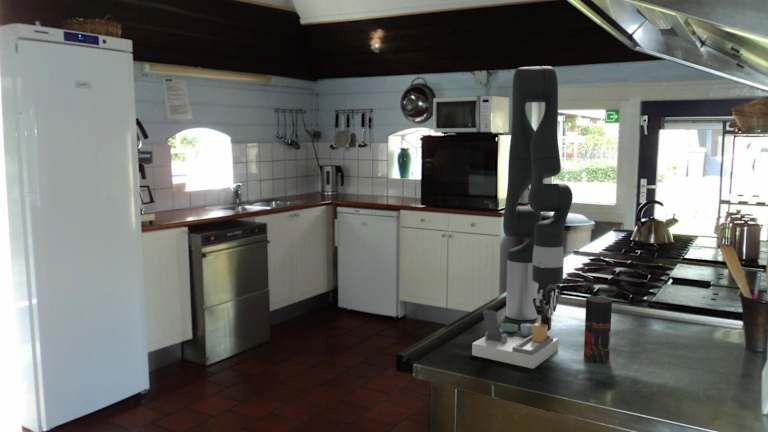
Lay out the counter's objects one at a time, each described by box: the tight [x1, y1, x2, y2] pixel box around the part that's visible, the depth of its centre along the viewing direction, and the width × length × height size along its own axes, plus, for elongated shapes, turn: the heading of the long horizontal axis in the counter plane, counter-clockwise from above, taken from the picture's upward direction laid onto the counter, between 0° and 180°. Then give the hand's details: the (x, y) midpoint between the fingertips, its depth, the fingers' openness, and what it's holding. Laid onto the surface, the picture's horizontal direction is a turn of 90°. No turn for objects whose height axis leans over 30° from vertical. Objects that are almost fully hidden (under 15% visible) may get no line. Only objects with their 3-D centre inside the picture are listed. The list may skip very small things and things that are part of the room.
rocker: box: [500, 322, 519, 332], centre depth 166 cm, size 4×3×2 cm
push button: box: [519, 322, 533, 336], centre depth 164 cm, size 3×3×2 cm
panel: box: [471, 327, 559, 370], centre depth 160 cm, size 16×16×5 cm
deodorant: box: [583, 295, 613, 365], centre depth 154 cm, size 6×6×15 cm
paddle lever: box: [482, 308, 501, 342], centre depth 157 cm, size 1×3×9 cm, turn 54°
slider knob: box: [532, 322, 549, 342], centre depth 159 cm, size 2×3×4 cm
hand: (545, 330), depth 162 cm, fingers closed
